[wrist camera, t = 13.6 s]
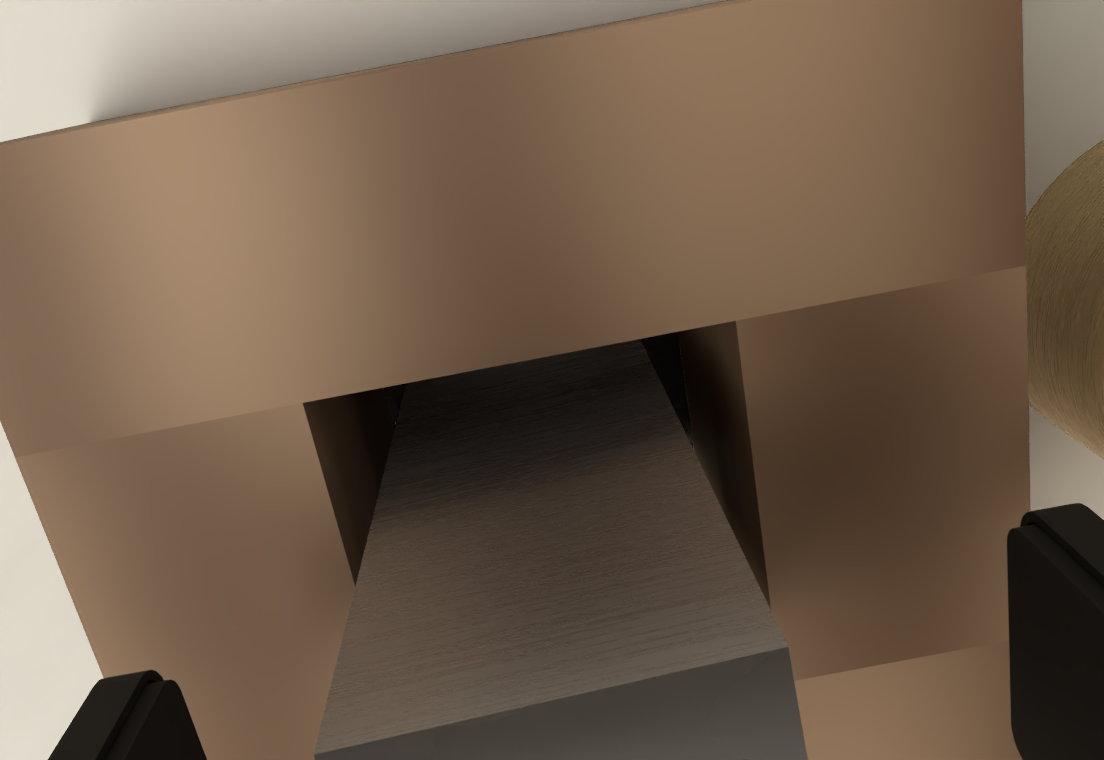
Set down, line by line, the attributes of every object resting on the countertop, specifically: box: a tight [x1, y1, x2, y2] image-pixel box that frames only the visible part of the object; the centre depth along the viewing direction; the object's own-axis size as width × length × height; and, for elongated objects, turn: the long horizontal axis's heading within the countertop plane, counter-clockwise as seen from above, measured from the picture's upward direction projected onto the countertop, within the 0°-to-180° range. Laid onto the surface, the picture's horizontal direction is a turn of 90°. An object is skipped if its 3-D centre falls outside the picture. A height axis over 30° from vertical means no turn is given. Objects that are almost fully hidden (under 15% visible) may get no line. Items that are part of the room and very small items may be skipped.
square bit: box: [313, 339, 808, 760], centre depth 14 cm, size 4×4×12 cm
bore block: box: [0, 0, 1030, 760], centre depth 17 cm, size 14×14×6 cm
